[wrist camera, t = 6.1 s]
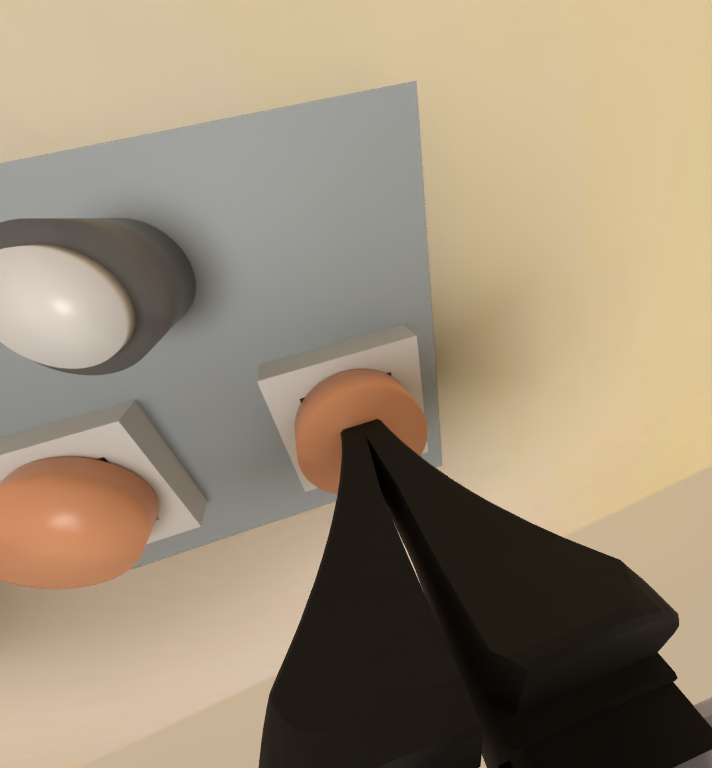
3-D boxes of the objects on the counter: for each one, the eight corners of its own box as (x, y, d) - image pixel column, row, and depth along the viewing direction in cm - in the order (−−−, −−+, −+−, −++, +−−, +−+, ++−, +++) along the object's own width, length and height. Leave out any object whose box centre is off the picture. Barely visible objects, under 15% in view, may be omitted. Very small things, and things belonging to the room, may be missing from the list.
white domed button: (117, 337, 9) (27, 404, 6) (48, 232, 8) (-125, 244, 4) (212, 311, 10) (179, 363, 6) (164, 206, 8) (84, 199, 5)
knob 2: (307, 437, 15) (317, 510, 11) (276, 355, 13) (276, 414, 9) (394, 410, 15) (432, 472, 12) (380, 326, 13) (422, 370, 9)
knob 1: (100, 501, 14) (35, 604, 10) (24, 426, 12) (-96, 525, 8) (198, 470, 14) (171, 559, 11) (145, 392, 12) (87, 470, 8)
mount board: (105, 551, 15) (72, 614, 13) (-260, 234, 8) (-511, 242, 5) (429, 445, 17) (454, 483, 15) (396, 100, 9) (438, 59, 7)
